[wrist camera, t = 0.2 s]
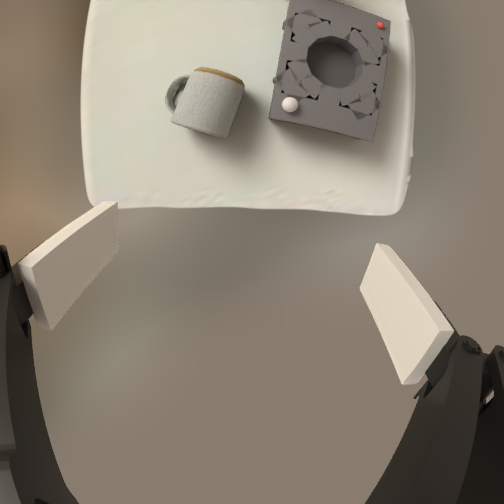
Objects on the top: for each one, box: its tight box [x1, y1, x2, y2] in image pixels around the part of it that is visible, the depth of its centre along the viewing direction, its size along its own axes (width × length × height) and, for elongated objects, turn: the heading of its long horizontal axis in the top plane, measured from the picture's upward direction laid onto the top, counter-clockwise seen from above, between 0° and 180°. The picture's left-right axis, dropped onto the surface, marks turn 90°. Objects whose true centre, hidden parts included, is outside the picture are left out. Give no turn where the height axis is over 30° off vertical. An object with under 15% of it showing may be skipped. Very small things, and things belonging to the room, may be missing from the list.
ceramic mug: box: [165, 67, 244, 138], centre depth 31 cm, size 11×8×8 cm
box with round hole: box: [269, 0, 391, 142], centre depth 28 cm, size 18×14×7 cm
